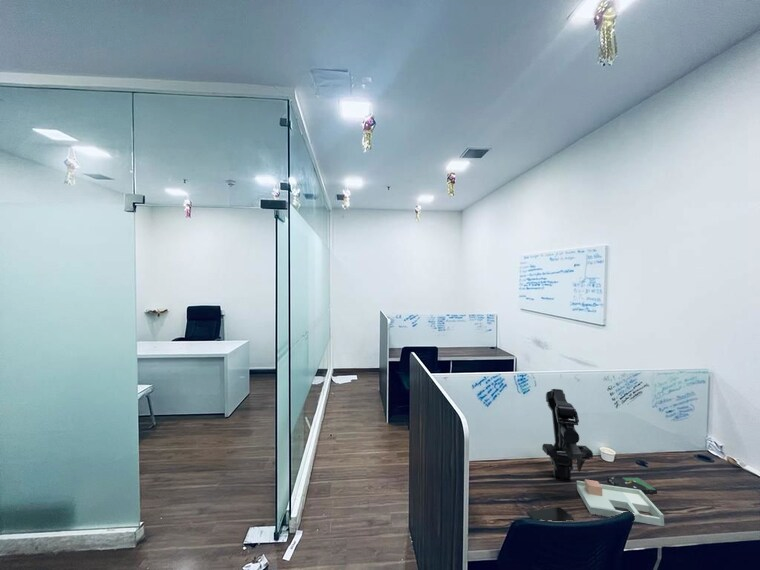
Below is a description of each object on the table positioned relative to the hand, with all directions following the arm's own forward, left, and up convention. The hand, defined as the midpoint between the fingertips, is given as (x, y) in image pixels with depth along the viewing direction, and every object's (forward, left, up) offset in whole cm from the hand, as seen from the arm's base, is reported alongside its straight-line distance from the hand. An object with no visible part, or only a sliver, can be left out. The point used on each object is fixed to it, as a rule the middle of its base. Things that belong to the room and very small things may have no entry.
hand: (567, 470), depth 135 cm
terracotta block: (+10, +2, -8) cm, 13 cm away
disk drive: (+29, +16, -12) cm, 35 cm away
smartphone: (-11, -17, -11) cm, 23 cm away
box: (+17, -2, -11) cm, 20 cm away
